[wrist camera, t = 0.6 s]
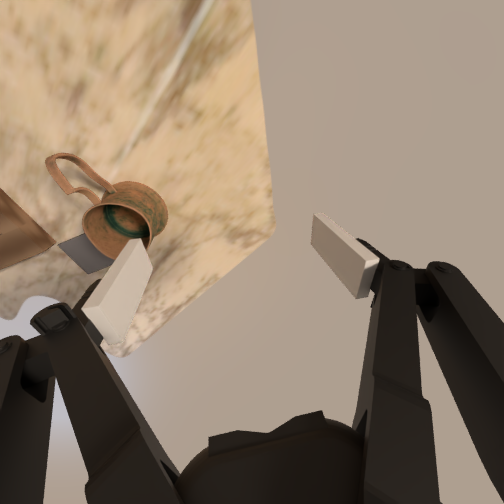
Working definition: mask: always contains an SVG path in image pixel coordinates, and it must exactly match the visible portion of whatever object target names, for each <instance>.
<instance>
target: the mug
mask: <svg viewBox="0 0 504 504" xmlns="http://www.w3.org/2000/svg"><path fill="white" fill-rule="evenodd" d="M57 158H61V159H67V160H70V161H72V162H74V163H75V164H76V165H78V166H79V167H80V168H81V169H82V170H83V171H84V172H85V173H86V174H87V175H88V176H89V177H91V178H92V179H93V180H94V181H96V182H97V183H99V184H100V185H102V186H103V187H105V188H106V189H107V190H106V192H105V193H104V195H103V197H102V201H101V200H100V199H99V198H98V197H97V196H96V195H95V194H94V193H93V192H92V191H91V190H89V189H87V188H84V187H79V188H73V187H72V186H71V185H70V183H69V182H68V181H67V180H66V178H65V177H64V176H63V174H62V173H61V171H60V170H59V168H58V167H57V164H56V162H55V159H57ZM45 164H46V167H47V169H48V171H49V173H50V174H51V175H52V177H53V178H54V180H55V181H56V182H57V183H58V185H59V186H60V187H61V188H62V189H63V190H64V192H65V193H66V194H67V195H69V194H71V193H74V192H79V193H82V194H84V195H85V196H86V197H88V198H89V199H90V200H91V202H92V203H93V204H94V206H93V207H91V208H90V209H88V210H87V211H86V213H85V214H84V216H83V219H82V226H83V229H84V232H85V234H86V235H87V237H88V239H89V240H90V241H91V243H92V244H93V245H94V246H95V247H96V248H97V249H98V250H99V251H100V252H101V253H103V254H104V255H105V256H107V257H109V258H111V259H113V260H116V258H117V257H118V256H119V254H120V253H121V251H122V250H123V248H124V247H125V246H126V244H127V243H128V241H129V240H131V239H139V238H141V240H142V243H143V245H144V248H145V250H146V251H147V250H148V248H149V246H150V244H151V242H152V240H153V238H154V237H155V236H157V235H158V234H160V233H161V232H162V231H163V230H164V228H165V226H166V224H167V221H168V211H167V207H166V205H165V203H164V201H163V199H162V198H161V197H160V196H159V195H158V194H157V193H156V192H155V191H154V190H153V189H151V188H150V187H148V186H146V185H144V184H141V183H137V182H131V181H126V182H120V183H117V184H114V185H113V186H112V185H111V184H110V183H108V182H107V181H106V180H104V179H103V178H102V177H100V176H99V175H98V174H97V173H96V172H95V171H94V170H93V169H92V168H91V167H90V166H89V165H88V164H87V163H85V162H84V161H83V160H82V159H80V158H79V157H77V156H75V155H72V154H69V153H58V154H55V155H52V156H50V157H48V158H46V160H45Z"/></svg>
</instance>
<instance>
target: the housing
mask: <svg viewBox="0 0 504 504" xmlns="http://www.w3.org/2000/svg"><path fill="white" fill-rule="evenodd" d="M0 233H1V234H0V269H3V268H5V267H7V266H10V265H12V264H15V263H17V262H20V261H22V260H24V259H27V258H29V257H32V256H34V255H36V254H39V253H41V252H44V251H45V250H47V249H48V248H49V247H51V246H52V245H53V244H55V243H56V241H55V240H54V239H53V238H52V237H51V236H50V235H49V234H48V233H46V232H45V231H44V230H43V229H42V228H41V227H40V226H39V225H38V224H37V223H36V222H35V221H34V220H33V219H32V218H31V217H30V216H29V215H28V214H27V213H26V212H25V211H24V210H22V209H21V208H20V207H19V206H18V205H17V204H16V203H15V202H14V201H13V200H12V199H11V198H10V197H9V196H8V195H7V194H6V193H5V192H4V191H3V190H2V189H1V188H0Z"/></svg>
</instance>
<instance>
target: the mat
mask: <svg viewBox="0 0 504 504" xmlns="http://www.w3.org/2000/svg"><path fill="white" fill-rule="evenodd" d="M58 246H59V247H60V248H61V249H62V250H63V251H64V252H65V253H66V254H67V255H68V256H69V257H70V258H71V259H72V260H74V261H75V262H76V263H77V264H78V265H79V266H80V267H81V268H82V269H83V270H84V271H85V272H86V273H87V274H91V273H93V272H96V271H98V270H100V269H103V268H105V267H108V266H110V265H112V264H113V263H114V261H115V260H113V259H111V258H109V257H107V256H105V255H104V254H103V253H101V252H100V251H99V250H98V249H97V248H96V247H95V246H94V245H93V244H92V243H91V241H90V240H89V239H88V237H87V235H86V234H85V233H84V234H82V235H80V236H77V237H75V238H72V239H70V240H68V241H65V242H63V243H60V244H58Z"/></svg>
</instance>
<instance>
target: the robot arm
mask: <svg viewBox="0 0 504 504" xmlns="http://www.w3.org/2000/svg"><path fill="white" fill-rule="evenodd" d="M311 245H312V246H313V247H314V249H315V250H316V251H317V252H318V254H319V255H320V256H321V257H322V258H323V260H324V261H325V262H326V263H327V264H328V266H329V267H330V268H331V269H332V271H333V272H334V273H335V274H336V275H337V277H338V278H339V279H340V280H341V282H342V283H343V284H344V285H345V286H346V288H347V289H348V290H349V291H350V292H351V294H352V295H353V296H354V297H355V299H359V298H364V297H368V295H369V292H370V289H371V290H372V291H373V292H374V293H375V295H374V298H373V301H372V304H371V308H372V310H371V317H370V323H369V331H368V337H367V343H366V349H365V356H364V362H363V369H362V375H361V382H360V389H359V396H358V402H357V408H356V413H355V416H354V420H353V425H352V428H351V427H349V426H347V425H345V424H343V423H341V422H338V421H335V420H331V419H326V418H325V417H324V415H323V412H322V411H316V412H312V413H308V414H304V415H300V416H295V417H294V418H292V419H291V420H289V421H287V422H286V423H284V424H283V425H281V426H279V427H278V428H276V429H275V430H273V431H271V432H269V433H261V432H250V431H240V430H237V431H233V432H229V433H224V434H220V435H216V436H212V437H209V446H208V447H207V448H205V449H204V450H202V451H201V452H200V453H199V454H197V455H196V456H195V457H194V458H193V460H191V461H190V463H189V464H188V465H187V466H186V468H185V469H184V470H183V472H182V473H181V474H180V473H179V471H178V470H177V469H176V467H175V466H174V464H173V463H172V461H171V460H170V459H169V457H168V456H167V454H166V453H165V451H164V449H163V448H162V446H161V444H160V443H159V441H158V439H157V438H156V436H155V435H154V433H153V431H152V429H151V428H150V426H149V425H148V423H147V421H146V420H145V418H144V416H143V415H142V413H141V411H140V410H139V408H138V406H137V405H136V403H135V402H134V400H133V398H132V397H131V395H130V393H129V392H128V390H127V388H126V387H125V385H124V383H123V382H122V380H121V378H120V377H119V375H118V374H117V372H116V370H115V369H114V367H113V365H112V364H111V362H110V360H109V359H108V357H107V355H106V354H105V352H104V350H103V349H102V348H101V346H100V344H101V342H102V340H103V339H104V340H105V341H106V343H107V344H108V345H112V344H118V343H123V342H124V340H125V338H126V335H127V333H128V330H129V328H130V325H131V323H132V320H133V318H134V315H135V313H136V310H137V308H138V305H139V303H140V300H141V298H142V295H143V293H144V290H145V288H146V285H147V283H148V280H149V278H150V275H151V273H152V270H153V267H152V264H151V262H150V260H149V257H148V255H147V252H146V250H145V248H144V245H143V243H142V240H141V238H139V239H131V240H129V241H128V243H127V244H126V246H125V247H124V248H123V250H122V251H121V253H120V254H119V256H118V257H117V258H116V260H115V261H114V263H113V264H112V266H111V267H110V268H109V270H108V271H107V273H106V274H105V276H104V277H103V278H102V279H98V280H97V281H95V282H94V283H93V284H92V285H90V286H89V288H88V289H87V290H86V292H85V293H84V295H83V296H82V297H81V299H80V300H79V301H78V303H77V304H76V305H75V307H74V308H73V309H72V310H71V308H70V307H69V306H68V305H67V304H66V303H57V304H53V305H50V306H48V307H46V308H44V309H42V310H41V311H39V312H38V313H37V314H36V315H34V316H33V318H32V319H31V321H30V324H31V325H32V326H33V327H34V328H35V329H36V330H37V331H38V332H39V333H40V334H41V335H39V336H37V337H34V338H31V339H28V340H26V341H25V340H24V339H22V338H21V337H20V336H18V335H14V336H9V337H6V338H4V339H1V340H0V504H43V498H44V489H45V479H46V469H47V459H48V449H49V439H50V428H51V419H52V409H53V398H54V389H55V388H54V387H55V379H57V382H58V385H59V388H60V391H61V394H62V397H63V400H64V403H65V406H66V409H67V412H68V415H69V418H70V421H71V424H72V427H73V430H74V433H75V436H76V439H77V442H78V445H79V448H80V451H81V454H82V457H83V460H84V463H85V466H86V469H87V472H88V476H89V480H88V482H87V483H86V485H85V495H86V500H87V503H88V504H442V503H441V502H440V499H439V498H440V497H439V487H438V476H437V466H436V456H435V445H434V433H433V423H432V412H431V407H430V404H429V401H428V400H426V399H424V398H423V396H422V387H421V372H420V357H419V342H418V328H417V315H418V318H419V320H420V322H421V324H422V327H423V329H424V331H425V333H426V336H427V338H428V340H429V342H430V345H431V347H432V350H433V352H434V354H435V356H436V359H437V361H438V363H439V366H440V368H441V370H442V372H443V375H444V377H445V379H446V381H447V384H448V386H449V388H450V390H451V393H452V395H453V397H454V400H455V402H456V404H457V406H458V409H459V411H460V413H461V416H462V418H463V420H464V423H465V425H466V427H467V429H468V432H469V434H470V436H471V439H472V441H473V443H474V445H475V448H476V450H477V452H478V455H479V457H480V459H481V461H482V463H483V465H484V467H485V469H486V471H487V473H488V475H489V477H490V479H491V481H492V483H493V485H494V486H495V488H496V490H497V491H498V493H499V495H500V497H501V499H502V500H503V502H504V323H503V322H502V320H501V319H500V318H499V317H498V316H497V314H496V313H495V312H494V311H493V310H492V308H491V307H490V306H489V305H488V304H487V302H486V301H485V300H484V299H483V298H482V296H481V295H480V294H479V293H478V292H477V290H476V289H475V288H474V287H473V285H472V284H471V283H470V282H469V281H468V279H467V278H466V277H465V276H464V275H463V274H462V273H461V271H460V270H459V269H458V268H457V267H455V266H453V265H451V264H449V263H445V262H439V261H433V262H430V263H429V264H428V266H427V268H426V269H414V268H412V267H411V266H410V265H409V264H407V263H405V262H402V261H399V260H390V259H388V258H387V257H385V256H384V255H383V254H382V253H380V252H379V251H378V250H376V249H375V248H374V247H372V246H371V245H370V244H369V243H367V242H366V241H364V240H361V239H359V238H357V239H355V238H353V237H352V236H351V235H350V234H349V233H347V232H346V231H345V230H344V229H342V228H341V227H340V226H339V225H337V224H336V223H335V222H333V221H332V220H331V219H330V218H329V217H327V216H326V215H325V214H324V213H317V214H313V225H312V236H311Z"/></svg>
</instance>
